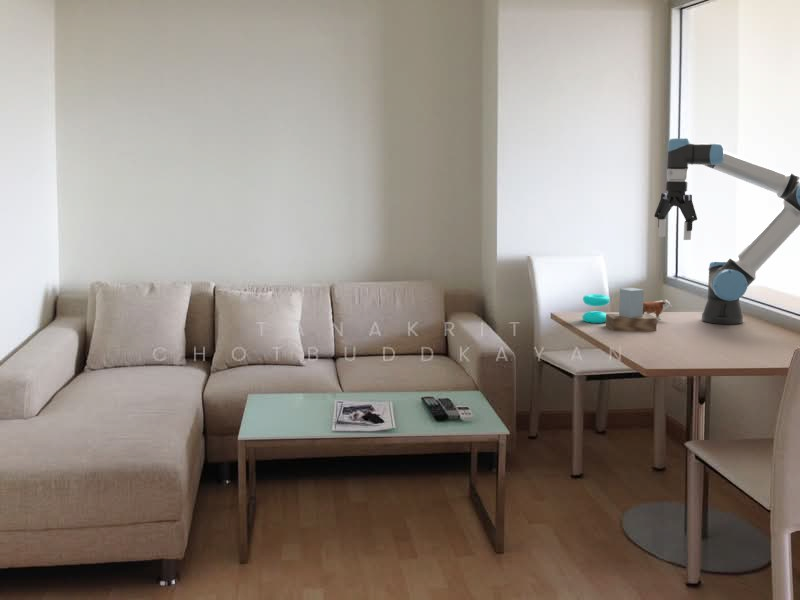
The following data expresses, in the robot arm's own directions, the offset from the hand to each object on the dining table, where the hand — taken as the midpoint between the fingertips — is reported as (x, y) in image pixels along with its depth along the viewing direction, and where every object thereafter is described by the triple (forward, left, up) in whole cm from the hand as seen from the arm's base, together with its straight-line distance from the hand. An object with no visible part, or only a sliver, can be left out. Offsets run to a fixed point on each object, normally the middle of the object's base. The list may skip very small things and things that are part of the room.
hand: (674, 238), depth 357 cm
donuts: (+21, -18, -33) cm, 43 cm away
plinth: (+18, -1, -33) cm, 38 cm away
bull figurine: (-1, -11, -33) cm, 35 cm away
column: (+18, -1, -28) cm, 34 cm away
